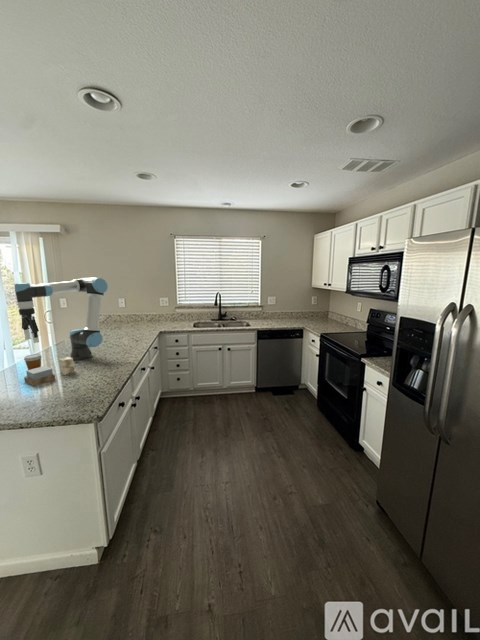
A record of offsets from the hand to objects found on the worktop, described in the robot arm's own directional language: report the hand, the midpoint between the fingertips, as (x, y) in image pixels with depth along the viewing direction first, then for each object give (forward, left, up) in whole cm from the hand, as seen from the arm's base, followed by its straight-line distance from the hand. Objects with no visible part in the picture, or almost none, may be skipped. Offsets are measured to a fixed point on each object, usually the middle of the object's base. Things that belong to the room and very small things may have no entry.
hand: (32, 341), depth 166 cm
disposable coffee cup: (-3, -12, -25) cm, 28 cm away
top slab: (+1, +7, -21) cm, 23 cm away
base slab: (+1, +7, -25) cm, 26 cm away
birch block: (-15, +7, -25) cm, 30 cm away
